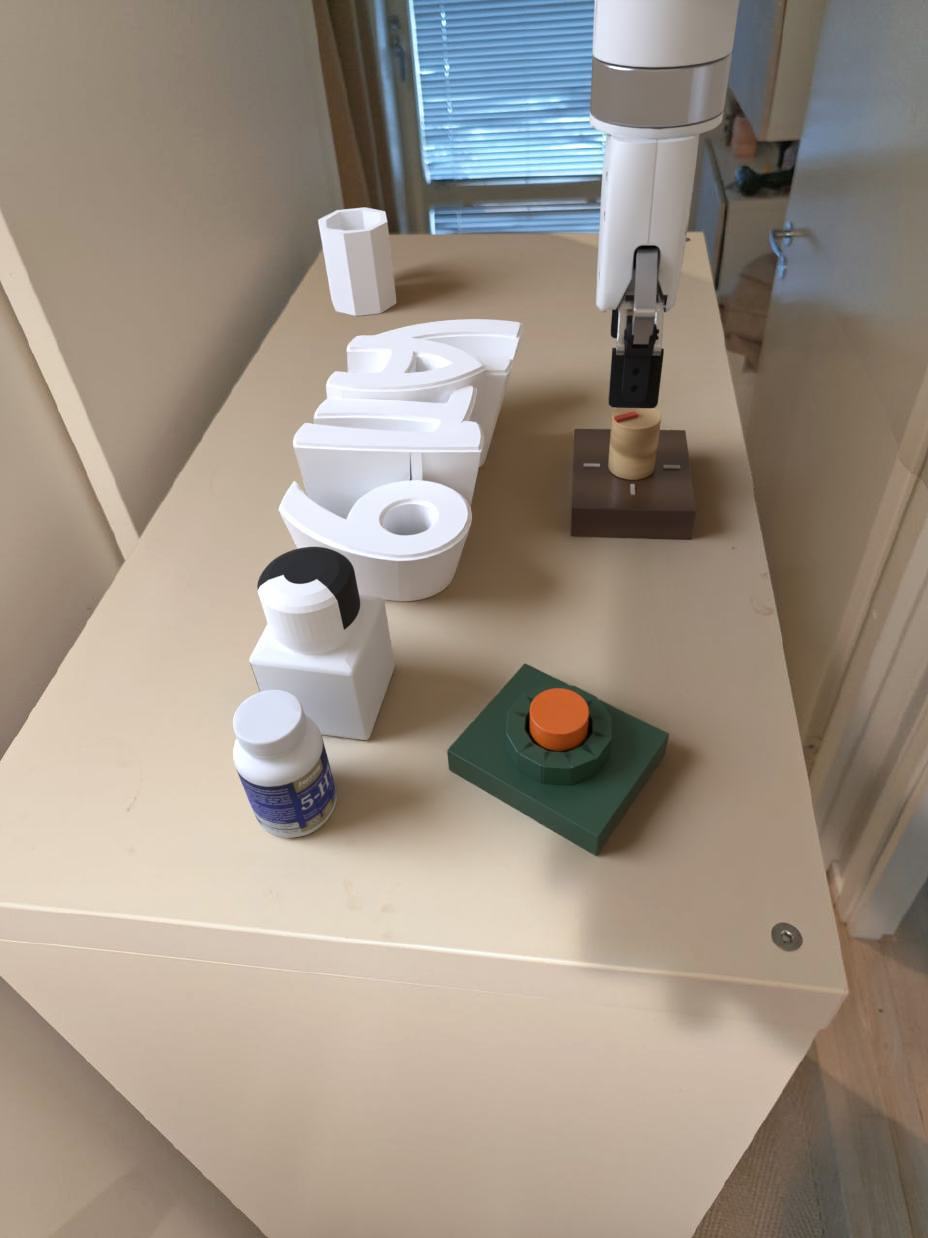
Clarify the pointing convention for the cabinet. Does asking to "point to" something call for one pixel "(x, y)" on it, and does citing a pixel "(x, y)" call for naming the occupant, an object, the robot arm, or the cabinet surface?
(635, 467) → the knob
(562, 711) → the button
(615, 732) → the green push button box
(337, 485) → the white lettered block
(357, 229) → the white octagonal cup
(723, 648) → the cabinet surface
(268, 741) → the pill bottle
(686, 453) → the hob panel
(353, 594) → the block figurine
